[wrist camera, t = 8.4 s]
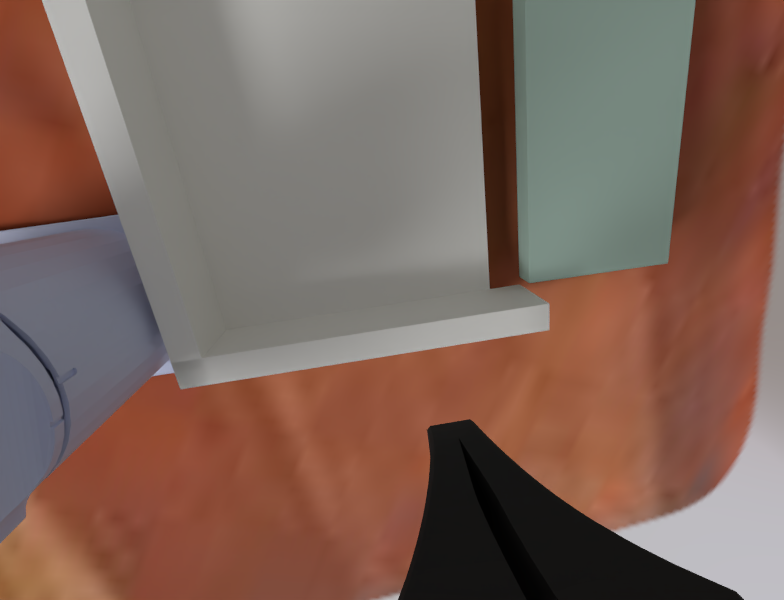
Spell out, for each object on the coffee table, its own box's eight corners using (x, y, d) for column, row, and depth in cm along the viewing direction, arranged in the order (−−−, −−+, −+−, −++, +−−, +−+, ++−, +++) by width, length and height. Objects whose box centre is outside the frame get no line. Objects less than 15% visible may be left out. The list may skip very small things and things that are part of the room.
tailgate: (529, 283, 17) (667, 263, 17) (521, -224, 12) (721, -248, 12) (519, 276, 18) (649, 257, 18) (508, -189, 13) (690, -210, 13)
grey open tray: (218, 343, 19) (180, 389, 15) (62, -170, 13) (-79, -337, 9) (508, 298, 20) (549, 330, 16) (491, -209, 14) (551, -381, 10)
